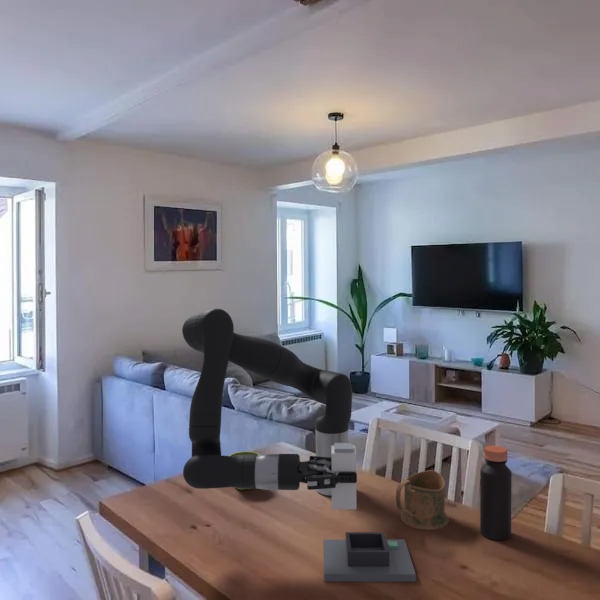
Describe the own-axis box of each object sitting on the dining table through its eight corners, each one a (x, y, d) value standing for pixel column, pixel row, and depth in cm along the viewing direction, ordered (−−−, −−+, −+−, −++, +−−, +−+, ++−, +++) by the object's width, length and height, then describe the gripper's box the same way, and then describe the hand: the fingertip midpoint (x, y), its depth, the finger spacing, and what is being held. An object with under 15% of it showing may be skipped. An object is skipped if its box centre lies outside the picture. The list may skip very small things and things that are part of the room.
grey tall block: (331, 498, 122) (331, 442, 121) (355, 499, 121) (355, 442, 121) (331, 509, 117) (331, 449, 116) (356, 509, 116) (356, 449, 116)
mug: (377, 528, 131) (376, 479, 130) (416, 504, 144) (416, 459, 143) (420, 544, 123) (419, 491, 122) (457, 517, 136) (457, 470, 135)
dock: (324, 581, 109) (324, 559, 109) (323, 545, 123) (323, 526, 123) (415, 581, 108) (415, 559, 108) (404, 546, 122) (404, 526, 122)
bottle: (483, 524, 132) (484, 442, 131) (513, 531, 128) (514, 446, 127) (477, 536, 126) (477, 450, 125) (508, 543, 123) (508, 455, 121)
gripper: (274, 466, 112) (357, 467, 111) (280, 444, 126) (354, 444, 125) (274, 502, 112) (358, 503, 112) (280, 476, 127) (354, 476, 126)
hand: (355, 472), depth 119 cm, fingers closed on grey tall block, 5 cm apart
